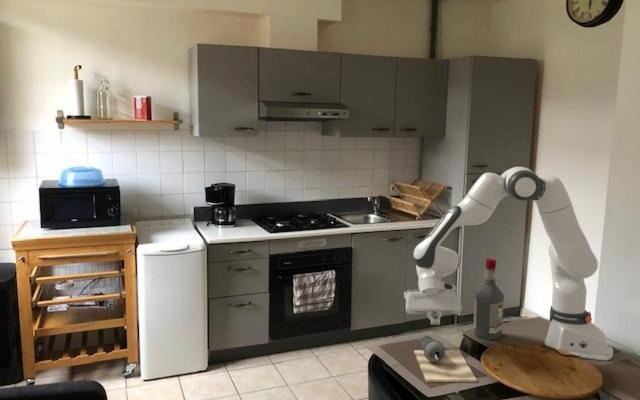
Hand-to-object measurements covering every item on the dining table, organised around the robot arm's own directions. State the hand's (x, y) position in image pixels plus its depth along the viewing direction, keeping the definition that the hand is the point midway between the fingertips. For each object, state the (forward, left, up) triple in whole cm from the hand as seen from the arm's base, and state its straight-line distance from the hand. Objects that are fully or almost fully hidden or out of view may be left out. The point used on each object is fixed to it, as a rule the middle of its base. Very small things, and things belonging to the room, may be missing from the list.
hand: (435, 324), depth 197 cm
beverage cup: (+3, +2, -7) cm, 7 cm away
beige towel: (-7, +12, -9) cm, 17 cm away
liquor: (-14, -22, -10) cm, 27 cm away
